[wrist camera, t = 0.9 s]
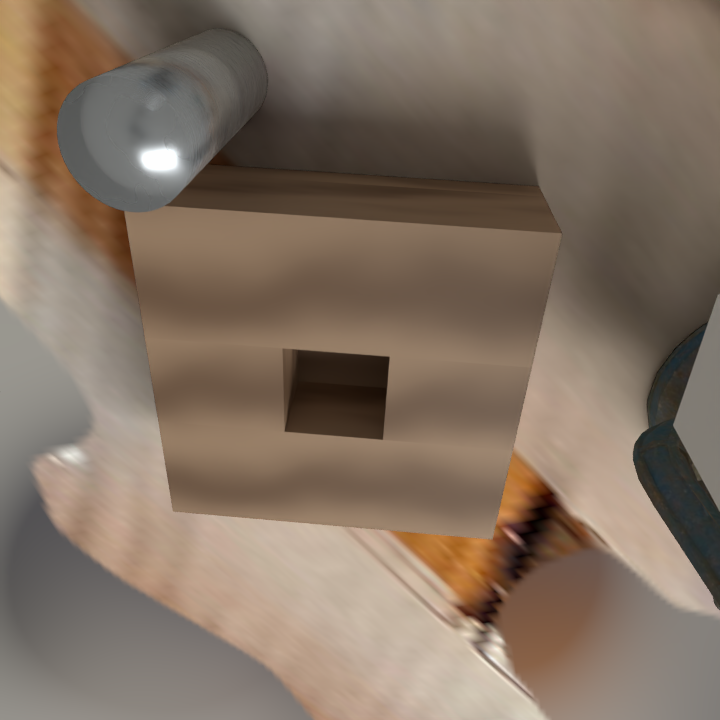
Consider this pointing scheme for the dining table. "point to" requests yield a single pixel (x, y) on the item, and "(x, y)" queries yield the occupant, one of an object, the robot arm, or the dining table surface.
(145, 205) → the pin
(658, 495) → the lantern
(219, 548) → the dining table surface
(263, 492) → the walnut block
